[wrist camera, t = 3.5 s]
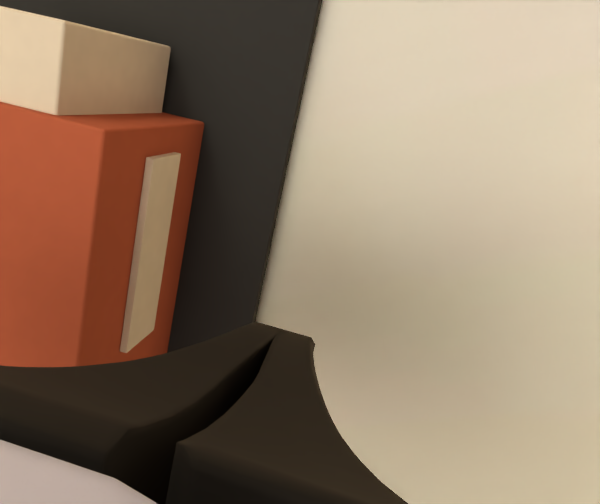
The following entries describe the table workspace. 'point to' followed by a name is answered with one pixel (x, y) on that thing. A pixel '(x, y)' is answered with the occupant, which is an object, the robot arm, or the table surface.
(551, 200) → the table surface
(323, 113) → the table surface
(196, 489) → the robot arm
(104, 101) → the book in orange sleeve
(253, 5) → the mat
